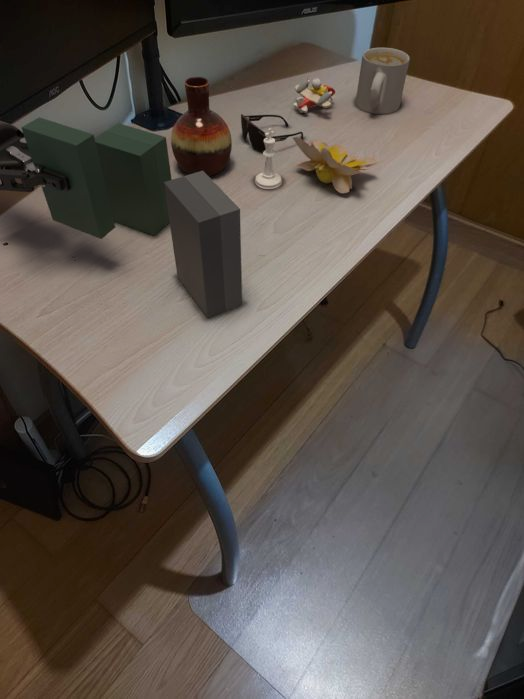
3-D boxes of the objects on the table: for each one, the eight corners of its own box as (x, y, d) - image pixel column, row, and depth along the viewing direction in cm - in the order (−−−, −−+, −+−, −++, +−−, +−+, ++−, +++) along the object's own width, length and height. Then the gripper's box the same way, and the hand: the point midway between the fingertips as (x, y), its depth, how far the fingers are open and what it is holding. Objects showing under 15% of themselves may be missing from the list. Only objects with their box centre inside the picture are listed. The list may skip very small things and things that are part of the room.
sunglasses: (232, 134, 106) (234, 109, 103) (280, 128, 112) (284, 104, 108) (258, 157, 100) (261, 131, 97) (308, 150, 106) (312, 125, 102)
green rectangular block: (154, 236, 84) (140, 155, 74) (110, 220, 87) (90, 140, 76) (176, 216, 88) (166, 136, 77) (134, 201, 91) (118, 122, 80)
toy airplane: (334, 102, 117) (338, 72, 112) (329, 120, 111) (333, 90, 106) (294, 98, 118) (296, 68, 113) (288, 116, 112) (289, 85, 107)
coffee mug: (366, 90, 121) (373, 44, 114) (406, 101, 118) (416, 53, 110) (341, 112, 114) (348, 64, 106) (383, 124, 111) (393, 75, 103)
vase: (165, 159, 100) (154, 75, 88) (218, 146, 103) (213, 64, 92) (187, 187, 94) (177, 100, 82) (242, 173, 97) (240, 88, 85)
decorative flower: (393, 176, 93) (392, 126, 85) (348, 210, 91) (342, 162, 83) (335, 149, 102) (330, 101, 94) (293, 179, 99) (283, 132, 91)
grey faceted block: (207, 318, 72) (198, 222, 60) (177, 277, 78) (163, 181, 66) (242, 304, 74) (240, 208, 62) (210, 265, 80) (202, 170, 67)
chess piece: (249, 180, 95) (249, 127, 88) (270, 172, 97) (272, 119, 90) (265, 192, 93) (266, 138, 85) (287, 183, 95) (290, 130, 87)
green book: (101, 239, 73) (76, 145, 62) (52, 220, 76) (20, 127, 65) (115, 227, 75) (93, 134, 64) (67, 209, 77) (39, 116, 67)
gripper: (-70, 140, 67) (30, 176, 62) (12, 98, 75) (106, 127, 70) (-45, 191, 72) (48, 228, 67) (29, 147, 81) (117, 177, 76)
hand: (77, 176), depth 69 cm, fingers closed on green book, 3 cm apart
